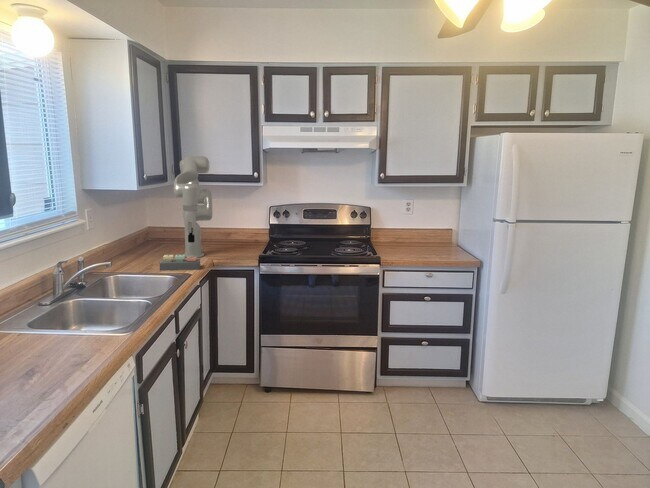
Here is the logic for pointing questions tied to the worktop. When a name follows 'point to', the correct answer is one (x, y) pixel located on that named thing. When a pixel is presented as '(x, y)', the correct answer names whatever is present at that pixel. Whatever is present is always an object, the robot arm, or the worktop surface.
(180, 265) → the console
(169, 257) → the tile one
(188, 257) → the tile three
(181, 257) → the tile two
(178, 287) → the worktop surface
